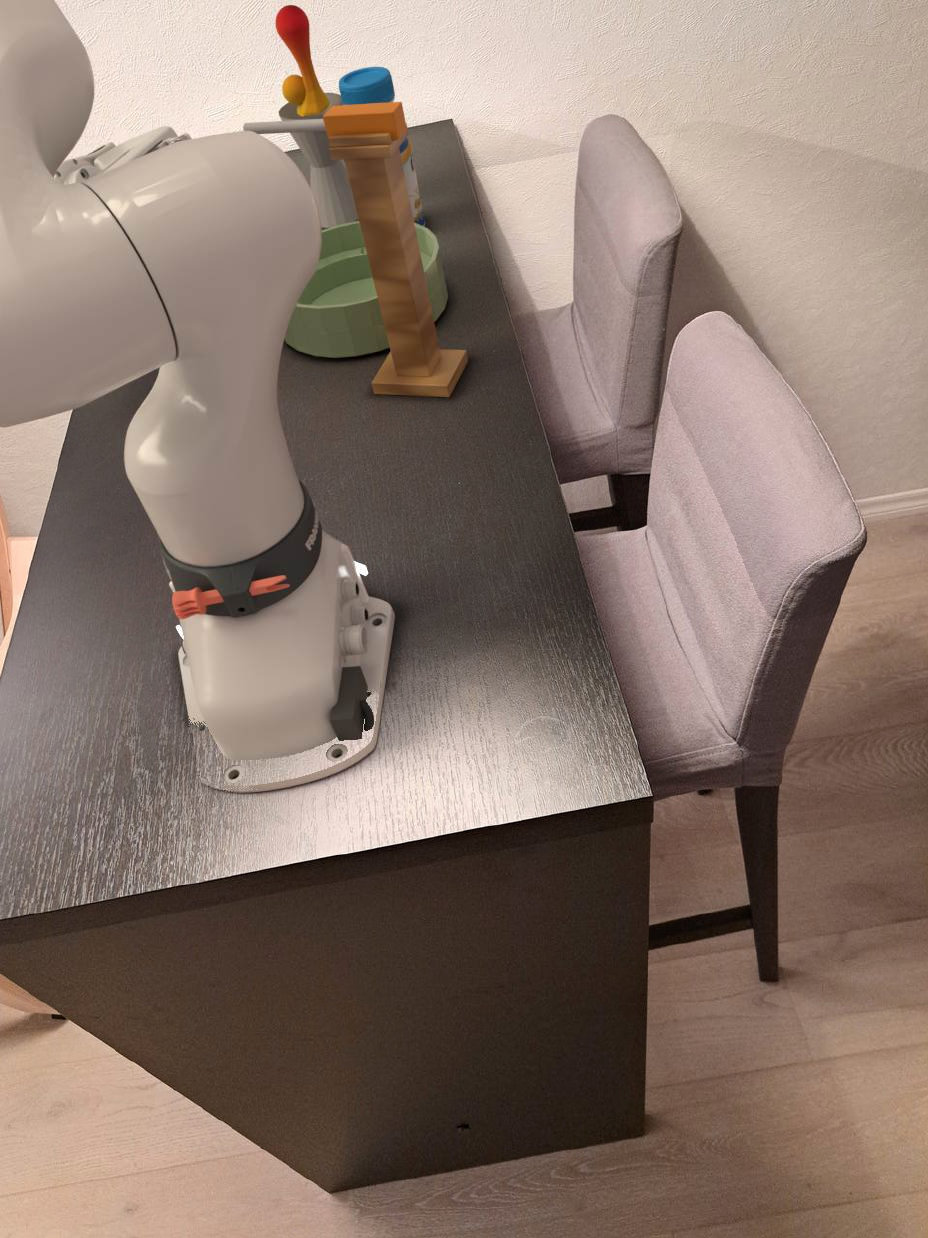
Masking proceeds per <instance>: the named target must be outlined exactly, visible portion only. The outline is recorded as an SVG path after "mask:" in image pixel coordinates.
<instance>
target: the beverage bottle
mask: <svg viewBox="0 0 928 1238" xmlns="http://www.w3.org/2000/svg"><path fill="white" fill-rule="evenodd" d="M338 90H339V95H341V99H342V102H343V105H355V104H372V103H388V102H395V99H396V98H395V95H396V93H395V87H394V83H393V76H392V74H391V71H390V70H389V68H387V67H384V66H383V67H382V66H368V67H367V66H366V67H362V68H359V69H355V70H352V71H350V72H347V73H346V74H344V75H343V76H341V77H340V78H339V80H338ZM399 149H400V154H401V159H402V164H403V169H404V174H405V179H406V184H407V189H408V194H409V199H410V204H411V209H412V214H413V219H414V223H417V224H419V225H421V226H424V227H425V226H426V219H425V213H424V211H423V205H422V200H421V198H422V197H421V194H420V189H419V184H418V183H419V182H418V179H417V171H416V166H415V161H414V150H413V145H412V142H411V140H410V139H409V138H408V137H407V138H406V139H405V140H404V142H403V143H402V144H401V145H400V147H399Z"/></svg>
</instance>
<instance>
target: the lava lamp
mask: <svg viewBox="0 0 928 1238" xmlns="http://www.w3.org/2000/svg"><path fill="white" fill-rule="evenodd" d="M274 21H275V23H274V24H275V29H276V33H277V34H278V37H280V39H281V40H282V42H283V43H284V44H285V46H286V47H287V49H288V50H289V51H290V53H291V55H292V56H293V58H294V60H295V61H296V63H297V66H298V69H299V72H300V74H301V75H299V74H290V75H288V76H287V77H286V78H285V79H284V80H283V81H282V86H281V91H282V95H283V98H284V99H285V101H286V102H287V103H285V104H284V105H282V106H281V108H280V109H279V111H278V116H279V118H280V121H292V120H310V119H323V115H324V114H325V113H326V112H327V111H328V110H329V109H330V108H331V107H332V106H338V105H343V102H342V99H341V94H340V93H336V92H324V90H323V88H322V86H321V85H320V82H319V80H318V77H317V75H316V71H315V67H314V64H313V59H312V54H311V53H312V51H311V44H310V42H311V40H310V39H311V35H310V34H311V33H310V20H309V17H308V16H307V14H306V12H305V11H304V10H303V9H302V8H301V7H300V6H298V5H296V4H295V5H294V4H288V5H287V4H286V5H284V6H282V7H281V8H280V9H279V10H278V11H277V14H276V16H275V20H274ZM289 134H290V136H291V137H292V138H293V140H294V142H295V143H296V145H297V147H298V148H299V150H300V151H301V154H302V155H303V156H304V157H305V159H306V161H307V163H308V164H309V165H310V185H309V186H310V188H311V190H312V192H313V195H314V197H315V200H316V203H317V206H318V210H319V215H320V220H321V228H325V229H328V228H331V227H334V226H337V225H341V224H346V223H351V222H355V221H358V220H359V219H358V215H357V211H356V207H355V203H354V199H353V195H352V191H351V186H350V182H349V178H348V174H347V170H346V166H345V164H344V162H343V161H342V160H331V156H330V152H329V148H330V144H329V140H328V136H327V132H326V131H313V132H293V133H289Z"/></svg>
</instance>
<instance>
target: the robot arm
mask: <svg viewBox="0 0 928 1238" xmlns="http://www.w3.org/2000/svg"><path fill="white" fill-rule="evenodd" d="M95 90H96V89H95V75H94V71H93V67H92V62H91V60H90V57H89V54H88V51H87V49H86V47H85V45H84V43H83V42H82V40H81V39H80V37H79V35H78V34H77V32H76V30H74V27H72V25H71V23H70V22H69V20H68V19H67V18H66V16H65V14H64V13H63V11H62V10H61V8H60V7H59V5H58V3H57V2H56V1H55V0H0V428H3V429H5V428H10V427H14V426H18V425H23V424H25V423H29V422H33V421H37V420H41V419H45V418H48V417H52V416H56V415H59V414H62V413H65V412H69V411H72V410H76V409H79V408H82V407H83V406H86V405H89V404H90V403H91V402H94V401H96V400H98V399H99V398H102V397H104V396H105V395H108V394H109V393H112V392H114V391H115V390H117V389H119V388H121V387H124V386H125V385H127V384H129V383H131V382H133V381H135V380H137V379H139V378H142V377H144V376H146V375H147V374H149V373H152V372H153V371H155V370H157V369H159V371H158V374H157V377H156V380H155V382H154V385H153V386H152V388H151V390H150V391H149V393H148V394H147V396H146V398H145V399H144V400H143V402H142V403H141V405H139V408H138V409H137V410H136V412H135V414H134V415H133V417H132V419H131V420H130V422H129V425H128V428H127V431H126V435H125V440H124V451H123V463H124V469H125V470H124V471H125V474H126V476H127V478H128V481H129V483H130V485H131V487H132V488H133V490H134V493H136V495H137V497H138V499H139V501H140V503H141V506H142V507H143V509H144V511H145V512H146V514H147V516H148V518H149V520H150V522H151V523H152V526H153V527H154V529H155V531H156V533H157V536H158V537H157V539H158V546H159V549H160V552H161V556H162V562H163V565H164V568H165V570H166V574H167V575H168V577H169V579H170V581H169V582H168V586H169V588H170V589H171V591H172V597H171V601H172V603H171V604H172V608H173V611H174V614H175V615H176V617H177V618H178V619H179V624H178V625H176V626H175V628H176V630H177V632H178V633H179V635H180V637H181V638H182V639H183V641H182V645H181V646H180V647H179V649H178V652H177V656H178V663H179V668H180V673H181V674H180V675H181V680H182V687H183V693H184V698H185V705H186V711H187V717H188V716H189V717H188V722H189V721H190V720H191V721H190V723H191V722H192V723H193V724H194V722H195V723H196V722H197V723H198V724H199V722H200V723H201V722H202V723H203V724H204V725H205V726H202V727H200V729H199V731H204V730H205V729H206V727H208V729H209V731H210V733H211V735H212V736H213V738H214V740H215V742H216V744H217V745H218V747H219V749H220V751H221V753H222V754H223V756H225V757H226V758H228V759H230V760H257V759H258V760H260V759H263V760H264V759H269V758H270V759H272V758H279V757H280V758H282V757H285V756H286V757H289V756H290V755H295V754H297V753H302V752H304V751H307V750H311V749H314V748H315V747H317V746H320V745H323V744H325V743H328V742H330V741H332V740H333V739H335V738H336V737H337V738H338V740H339V741H344V740H358V739H362V732H363V724H364V719H365V724H364V730H365V731H368V730H370V729H372V727H373V725H374V715H373V712H372V709H371V708H370V706H369V705H368V703H367V702H366V699H367V697H369V696H370V695H371V694H372V693H371V692H373V693H374V691H376V692H378V693H379V691H377V690H380V695H379V701H378V708H377V714H376V721H375V727H374V733H373V737H372V740H371V742H370V743H369V744H368V745H367V746H366V747H365V748H363V749H362V750H361V751H359V752H358V753H356V754H355V755H353V756H352V757H350V758H348V759H346V760H345V761H343V762H341V763H338V764H336V765H334V766H332V767H329V768H327V769H324V770H321V771H318V772H315V773H312V774H309V775H305V776H302V777H298V778H294V779H289V780H284V781H279V782H273V783H267V784H259V785H254V786H253V785H250V786H249V785H247V786H249V787H247V786H245V787H247V788H245V787H244V786H242V787H244V788H245V789H244V788H242V787H241V786H239V787H241V788H242V789H241V788H239V789H241V790H242V791H243V789H244V790H245V791H247V790H249V789H250V790H249V791H250V792H249V791H247V792H245V791H244V792H243V793H258V792H267V791H273V790H275V791H276V790H279V789H285V788H290V787H294V786H298V785H303V784H307V783H311V782H314V781H317V780H321V779H325V778H327V777H329V776H332V775H334V774H338V773H339V772H342V771H343V770H345V769H348V768H349V767H351V766H353V765H354V764H356V763H358V762H359V761H361V760H362V759H364V758H365V757H367V756H368V755H369V754H370V753H371V752H373V750H374V749H375V748H376V746H377V742H378V735H379V731H380V723H381V716H382V710H383V702H384V697H385V690H386V689H385V688H386V681H387V675H388V670H389V669H388V667H389V661H390V655H391V648H392V641H393V635H394V628H395V621H396V614H395V610H394V609H393V607H392V605H391V604H390V603H389V602H387V601H385V600H383V599H381V598H377V597H374V596H370V595H369V593H368V591H367V589H366V587H365V584H364V582H363V579H362V577H361V575H363V576H367V575H368V574H369V572H368V569H367V566H366V565H365V564H362V563H359V562H357V561H355V559H354V557H353V555H352V552H351V550H350V547H349V546H348V545H347V544H345V543H343V542H342V541H340V540H339V539H337V538H335V537H333V536H332V535H331V534H329V533H327V532H326V530H324V529H323V528H322V527H323V526H322V524H321V523H322V522H321V520H320V518H319V513H318V508H317V505H316V503H315V501H314V499H313V497H312V496H311V494H310V492H309V490H308V488H307V487H306V485H305V484H304V482H302V481H301V479H299V478H298V474H297V472H296V469H295V466H294V463H293V460H292V457H291V454H290V451H289V447H288V444H287V440H286V436H285V433H284V428H283V424H282V421H281V416H280V411H279V403H278V378H279V371H280V370H279V369H280V362H281V357H282V351H283V347H284V342H285V340H284V339H285V335H286V331H287V328H288V325H289V322H290V319H291V316H292V314H293V312H294V309H295V307H296V305H297V302H298V300H299V299H300V297H301V295H302V293H303V291H304V289H305V287H306V286H307V284H308V283H309V281H310V280H311V278H312V277H313V275H314V273H315V272H316V269H317V266H318V262H319V258H320V253H321V244H322V230H323V227H321V220H320V215H319V210H318V206H317V203H316V200H315V197H314V195H313V192H312V190H311V188H310V186H311V185H310V183H309V181H308V180H307V178H306V176H305V175H304V174H303V172H302V170H301V169H300V168H299V166H298V165H297V164H296V163H295V161H294V160H293V159H292V158H291V157H290V156H289V155H288V153H286V152H285V151H284V150H282V148H280V147H279V146H278V145H276V144H275V143H274V142H272V141H271V140H270V139H268V138H266V137H264V136H262V134H257V133H255V132H252V131H244V130H239V131H234V132H233V131H232V132H225V133H217V134H212V135H211V134H210V135H206V136H201V137H196V138H192V137H191V135H190V134H189V133H187V132H184V133H182V134H180V135H178V134H177V133H176V131H175V129H174V128H172V126H160V127H158V128H157V127H156V128H154V129H152V130H150V131H147V132H145V133H142V134H140V135H137V136H135V137H132V138H130V139H128V140H126V141H123V142H121V143H118V144H117V145H116V144H115V143H114V142H107V143H106V144H104V145H101V146H99V148H97V149H95V150H93V151H92V152H89V153H88V154H85V155H81V156H80V155H79V156H76V157H74V158H69V159H67V157H68V156H69V155H70V154H71V152H72V151H73V150H74V148H75V147H76V145H77V144H78V142H79V141H80V139H81V138H82V136H83V134H84V131H85V129H86V127H87V124H88V122H89V119H90V117H91V113H92V110H93V106H94V101H95ZM380 682H381V683H380ZM380 684H381V688H380ZM379 688H380V689H379ZM372 689H373V690H374V691H372ZM376 689H377V690H376ZM369 690H370V691H371V692H367V691H369ZM372 695H373V694H372ZM193 718H194V719H195V720H194V719H193ZM189 719H190V720H189ZM198 721H199V722H198ZM203 721H204V722H205V723H206V724H205V723H204V722H203ZM190 723H189V724H190ZM192 723H191V724H192ZM197 723H196V725H197ZM203 724H201V725H203ZM194 725H195V724H194ZM197 726H198V725H197ZM198 727H199V726H198ZM347 752H348V749H347V747H346V746H345V745H343V744H334V745H332V746H331V747H330V748H329V749H328V750H327V752H326V757H327V759H328V760H330V761H332V762H337V761H340V760H342V759H343V758H345V756H346V755H347ZM338 755H340V756H338ZM336 756H338V757H336ZM195 765H196V766H197V764H196V763H195ZM196 770H197V771H198V769H197V768H196ZM197 774H198V777H199V778H200V781H201V783H202V785H204V786H206V785H207V783H208V782H209V783H210V784H211V782H210V781H208V782H207V780H205V779H203V778H201V777H200V776H199V773H198V772H197ZM243 774H244V768H243V767H242V766H241V765H232V766H230V767H228V768H227V769H226V770H225V772H224V774H223V780H224V781H225V782H227V783H235V782H237V781H238V780H240V779H241V778H242V776H243ZM236 776H237V777H236ZM235 777H236V778H235ZM204 783H205V784H206V785H205V784H204ZM209 783H208V784H209ZM212 783H213V782H212ZM213 784H214V783H213ZM216 784H217V783H216ZM216 784H215V785H216ZM218 785H219V786H221V785H222V786H224V785H223V784H221V785H220V784H218ZM218 785H216V786H218ZM210 786H211V785H210ZM213 786H214V785H213ZM213 786H212V787H213ZM216 786H215V787H216ZM226 786H227V787H226ZM206 787H208V785H207V786H206ZM230 787H231V788H233V787H234V788H233V789H231V788H230ZM236 787H237V788H236ZM219 788H220V787H219ZM222 788H223V789H225V788H227V789H228V788H230V789H231V790H230V789H228V790H230V791H231V792H230V791H228V790H226V789H225V790H226V791H224V790H223V789H222ZM222 788H220V789H222V790H223V791H222V790H220V789H219V790H218V791H222V792H227V791H228V792H229V793H242V792H241V791H240V790H239V789H238V786H234V785H225V786H224V787H222ZM235 788H236V789H235ZM248 788H249V789H248ZM251 788H252V789H253V790H252V789H251ZM217 789H218V788H217ZM217 789H216V790H217ZM246 789H247V790H246ZM256 789H257V790H256ZM232 790H233V791H234V792H233V791H232ZM235 790H236V791H237V790H239V791H240V792H238V791H237V792H236V791H235ZM251 790H252V791H251ZM228 792H227V793H228Z"/></svg>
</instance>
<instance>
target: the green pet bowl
mask: <svg viewBox="0 0 928 1238" xmlns="http://www.w3.org/2000/svg"><path fill="white" fill-rule="evenodd" d="M414 224H415V229H416V234H417V239H418V244H419V249H420V254H421V259H422V264H423V269H424V274H425V279H426V284H427V289H428V294H429V299H430V304H431V309H432V314H433V319H434V323H435V322H436V321H437V320H438V319H439V317H440V316H441V315H442V313H443V312H444V311H445V309H446V306H447V302H448V298H449V294H448V288H447V283H446V277H445V271H444V266H443V260H442V255H441V250H440V245H439V241H438V237H437V236H436V235H435V234H434V233H433V231H431V230H430V229H429V228H427V227H425V226H421V225H419V224H417V223H414ZM284 342H285V344H287V345H289V346H290V347H292V348H293V349H294V350H296V351H298V352H300V353H304V354H308V355H310V356H314V357H320V358H321V357H322V358H333V359H336V358H337V359H338V358H349V357H359V356H364V355H368V354H372V353H377V352H381V351H384V350H386V349H390V346H389V342H388V338H387V334H386V330H385V326H384V322H383V318H382V314H381V309H380V305H379V301H378V297H377V293H376V289H375V285H374V281H373V277H372V273H371V268H370V264H369V260H368V256H367V252H366V248H365V244H364V240H363V236H362V232H361V227H360V223H359V220H356V221H354V222H351V223H346V224H341V225H337V226H334V227H331V228H325V229H322V244H321V253H320V258H319V262H318V266H317V269H316V272H315V273H314V275H313V277H312V278H311V280H310V281H309V283H308V284H307V286H306V287H305V289H304V291H303V293H302V295H301V297H300V299H299V300H298V302H297V305H296V307H295V309H294V312H293V314H292V316H291V319H290V322H289V325H288V328H287V331H286V335H285V339H284Z"/></svg>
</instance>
